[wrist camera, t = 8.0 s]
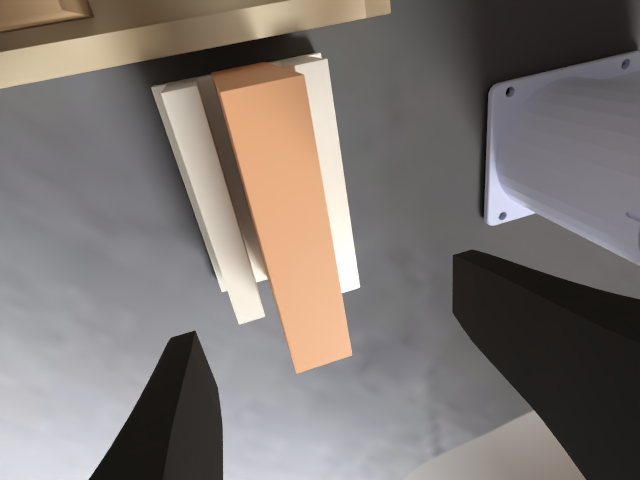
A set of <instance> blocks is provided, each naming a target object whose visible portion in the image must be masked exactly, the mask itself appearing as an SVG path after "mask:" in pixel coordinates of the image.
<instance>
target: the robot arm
mask: <svg viewBox="0 0 640 480" xmlns="http://www.w3.org/2000/svg"><path fill="white" fill-rule="evenodd" d="M622 63H623V64H622ZM621 65H622V66H621ZM508 88H509V89H510V91H509V93H508V95H507V96H506V90H507V89H508ZM501 213H502V215H501V216H500V217H499V215H500V214H501ZM534 213H537V214H539V215H541V216H543V217H545V218H547V219H549V220H551V221H553V222H555V223H557V224H558V225H560V226H562V227H564V228H566V229H568V230H570V231H572V232H574V233H576V234H578V235H580V236H582V237H584V238H586V239H588V240H590V241H592V242H594V243H596V244H598V245H600V246H602V247H604V248H606V249H608V250H609V251H611V252H613V253H615V254H617V255H619V256H621V257H623V258H625V259H627V260H629V261H631V262H633V263H635V264H637V265H639V266H640V50H637V51H632V52H628V53H624V54H620V55H615V56H611V57H607V58H602V59H598V60H594V61H590V62H585V63H581V64H577V65H572V66H568V67H564V68H560V69H555V70H551V71H547V72H542V73H538V74H534V75H530V76H525V77H521V78H517V79H512V80H508V81H504V82H500V83H496V84H494V85H493V86H492V87H491V89H490V91H489V95H488V119H487V147H486V174H485V201H484V221H485V222H486V223H487V224H489V225H491V226H494V225H497V224H501V223H504V222H508V221H511V220H514V219H518V218H521V217H524V216H528V215H531V214H534ZM453 314H454V315H455V317H456V318H457V320H458V322H459V323H460V325H461V326H462V328H463V329H464V330H465V332H466V333H467V335H468V336H469V337H470V339H471V340H472V342H473V343H474V344H475V345H476V346H477V347H478V348H479V349H480V351H481V352H482V353H483V354H484V355H485V356H486V357H487V358H488V360H489V361H490V362H491V363H492V364H493V365H494V366H495V367H496V368H497V369H498V371H499V372H500V373H501V374H502V375H503V376H504V377H505V378H506V379H507V380H508V381H509V383H510V384H511V385H512V386H513V387H514V388H515V389H516V390H517V391H518V392H519V393H520V395H521V396H522V397H523V398H524V399H525V400H526V401H527V402H528V403H529V404H530V406H531V407H532V408H533V409H534V410H535V412H536V413H537V414H538V415H539V416H540V417H541V419H542V420H543V421H544V423H545V424H546V425H547V427H548V428H549V429H550V431H551V432H552V433H553V435H554V436H555V437H556V438H557V440H558V441H559V442H560V444H561V445H562V447H563V448H564V449H565V451H566V452H567V453H568V455H569V456H570V457H571V459H572V460H573V462H574V463H575V465H576V466H577V467H578V469H579V470H580V472H581V473H582V474H583V476H584V477H585V479H586V480H640V299H636V298H631V297H627V296H622V295H618V294H614V293H610V292H606V291H602V290H599V289H595V288H592V287H588V286H585V285H581V284H578V283H574V282H571V281H568V280H565V279H561V278H558V277H555V276H552V275H549V274H546V273H543V272H540V271H537V270H534V269H531V268H528V267H525V266H522V265H519V264H516V263H513V262H511V261H508V260H505V259H502V258H499V257H496V256H493V255H490V254H487V253H483V252H480V251H476V250H469V251H466V252H462V253H459V254H455V255H453ZM89 480H223V428H222V417H221V408H220V401H219V393H218V387H217V384H216V382H215V379H214V377H213V374H212V372H211V369H210V367H209V364H208V361H207V359H206V356H205V354H204V351H203V349H202V346H201V344H200V341H199V339H198V336H197V334H196V331H192V332H189V333H186V334H182V335H179V336H175V337H172V338H170V340H169V342H168V343H167V345H166V347H165V349H164V351H163V353H162V355H161V357H160V359H159V361H158V364H157V366H156V368H155V369H154V371H153V373H152V375H151V377H150V379H149V381H148V383H147V385H146V387H145V389H144V391H143V392H142V394H141V396H140V398H139V400H138V402H137V403H136V405H135V407H134V409H133V411H132V412H131V414H130V416H129V418H128V419H127V421H126V422H125V424H124V426H123V427H122V429H121V431H120V432H119V434H118V436H117V437H116V439H115V441H114V442H113V444H112V446H111V447H110V449H109V450H108V452H107V453H106V455H105V456H104V458H103V459H102V461H101V462H100V464H99V465H98V467H97V468H96V470H95V471H94V473H93V474H92V476H91V477H90V478H89Z"/></svg>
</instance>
